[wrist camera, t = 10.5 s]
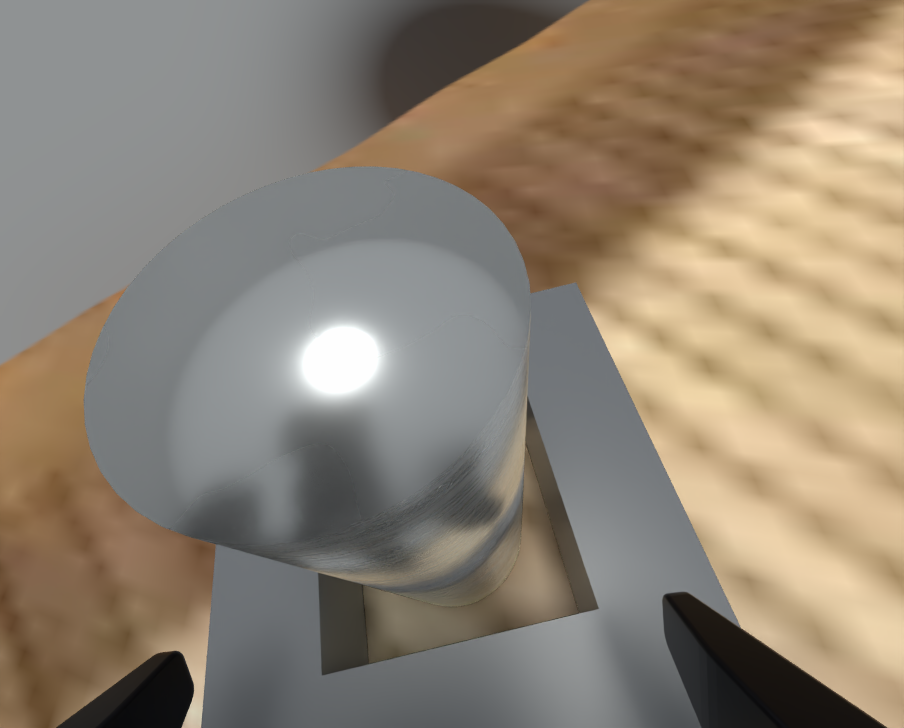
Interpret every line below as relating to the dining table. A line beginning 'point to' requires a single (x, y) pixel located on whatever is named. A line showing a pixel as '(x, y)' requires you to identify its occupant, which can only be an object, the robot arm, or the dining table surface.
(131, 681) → the robot arm
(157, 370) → the steel pin
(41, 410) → the dining table surface
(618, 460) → the socket block
